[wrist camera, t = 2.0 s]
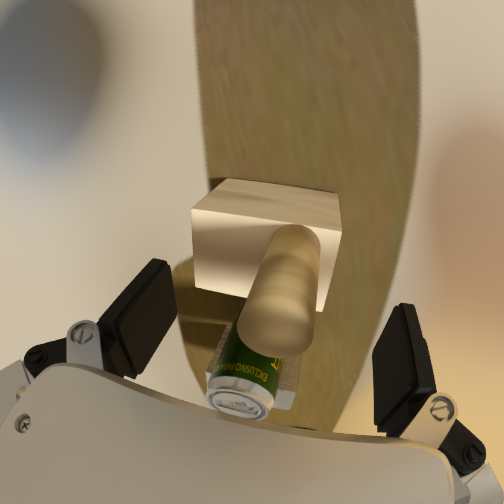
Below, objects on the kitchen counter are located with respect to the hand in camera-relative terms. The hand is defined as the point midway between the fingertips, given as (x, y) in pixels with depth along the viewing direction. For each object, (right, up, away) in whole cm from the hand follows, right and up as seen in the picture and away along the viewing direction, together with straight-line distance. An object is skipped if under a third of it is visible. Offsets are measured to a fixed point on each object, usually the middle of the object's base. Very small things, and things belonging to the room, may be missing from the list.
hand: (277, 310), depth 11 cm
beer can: (+1, -3, +18) cm, 18 cm away
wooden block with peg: (+1, +5, +13) cm, 14 cm away
